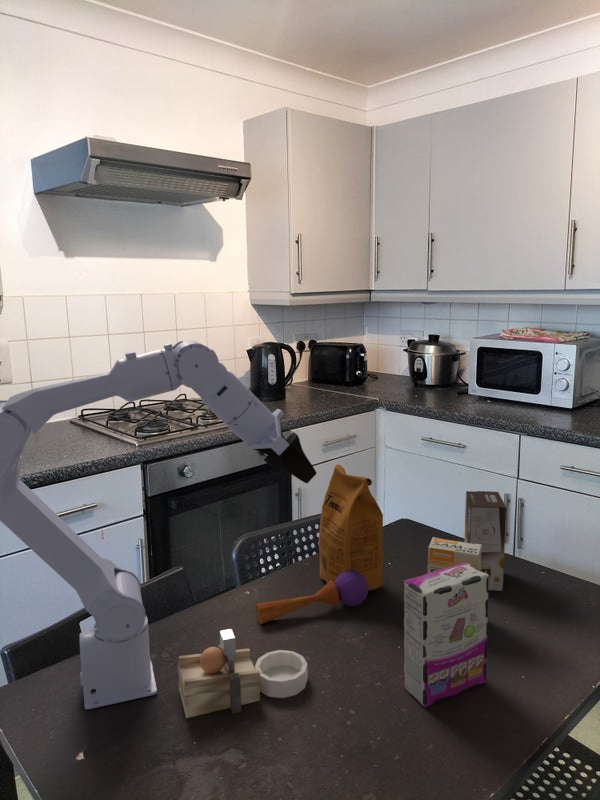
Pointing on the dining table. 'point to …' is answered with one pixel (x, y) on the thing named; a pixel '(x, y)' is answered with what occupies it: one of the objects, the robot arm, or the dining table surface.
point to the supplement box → (452, 554)
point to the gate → (228, 649)
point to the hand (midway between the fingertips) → (302, 470)
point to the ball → (212, 660)
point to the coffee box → (487, 532)
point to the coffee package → (351, 530)
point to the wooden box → (217, 685)
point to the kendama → (319, 597)
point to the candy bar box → (445, 632)
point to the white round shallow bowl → (282, 673)
